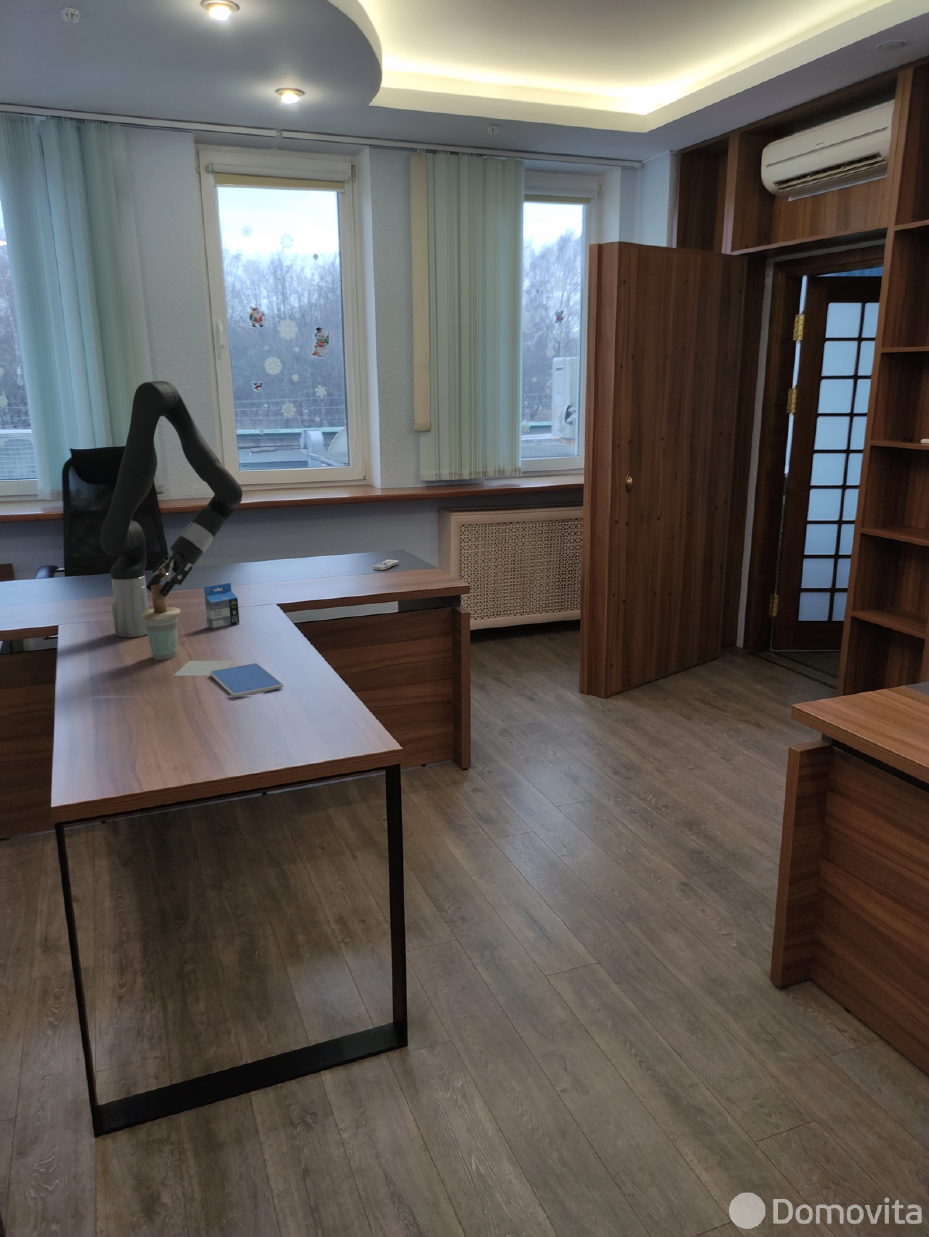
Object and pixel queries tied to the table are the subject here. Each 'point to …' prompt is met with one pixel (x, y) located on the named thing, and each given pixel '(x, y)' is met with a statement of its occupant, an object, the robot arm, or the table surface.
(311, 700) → the table surface
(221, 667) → the coaster
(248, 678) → the tablet computer
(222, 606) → the ink cartridge box
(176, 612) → the lid
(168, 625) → the coffee cup
